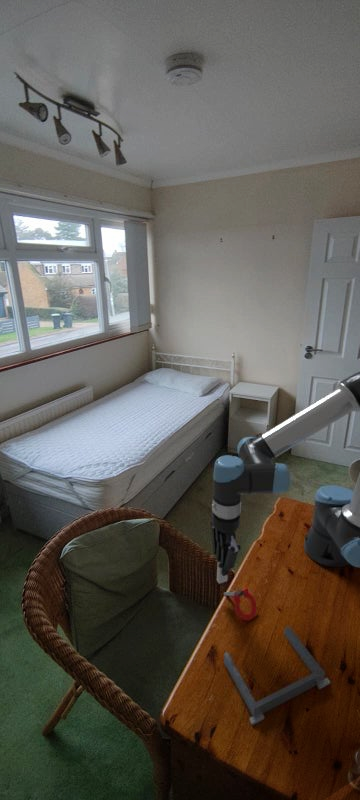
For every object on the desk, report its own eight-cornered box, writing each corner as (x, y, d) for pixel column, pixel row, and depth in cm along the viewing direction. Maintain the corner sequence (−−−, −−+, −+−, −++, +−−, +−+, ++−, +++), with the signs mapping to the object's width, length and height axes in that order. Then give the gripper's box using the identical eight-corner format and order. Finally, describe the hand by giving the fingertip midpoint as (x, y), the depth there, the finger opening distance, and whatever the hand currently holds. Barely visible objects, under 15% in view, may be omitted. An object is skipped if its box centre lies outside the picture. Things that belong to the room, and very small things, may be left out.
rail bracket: (290, 632, 99) (291, 624, 98) (329, 684, 87) (331, 675, 86) (220, 664, 91) (220, 655, 90) (252, 725, 79) (252, 716, 78)
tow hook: (243, 625, 100) (231, 597, 102) (223, 623, 109) (212, 597, 110) (261, 612, 104) (249, 585, 106) (240, 610, 112) (229, 586, 114)
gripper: (202, 501, 105) (200, 568, 113) (225, 530, 93) (221, 602, 101) (226, 495, 107) (222, 561, 115) (251, 522, 96) (245, 593, 104)
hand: (221, 580), depth 108 cm, fingers closed
